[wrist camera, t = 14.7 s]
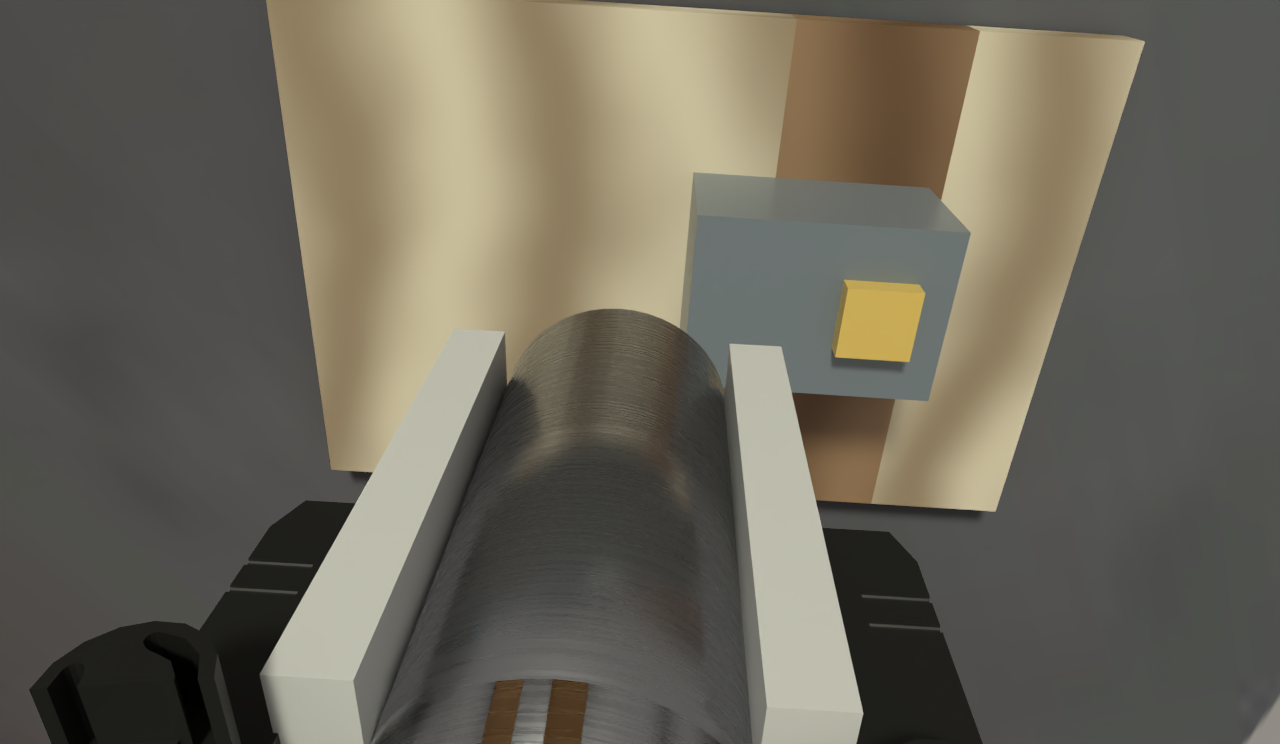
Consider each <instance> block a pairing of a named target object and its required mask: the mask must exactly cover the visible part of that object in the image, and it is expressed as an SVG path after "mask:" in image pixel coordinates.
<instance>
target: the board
mask: <svg viewBox="0 0 1280 744" xmlns="http://www.w3.org/2000/svg"><path fill="white" fill-rule="evenodd" d="M266 2H267V9H268V17H269V24H270V31H271V38H272V46H273V53H274V60H275V67H276V74H277V82H278V89H279V96H280V103H281V110H282V118H283V125H284V132H285V139H286V146H287V154H288V161H289V168H290V175H291V183H292V190H293V197H294V204H295V211H296V219H297V226H298V233H299V240H300V247H301V255H302V262H303V269H304V276H305V283H306V291H307V298H308V305H309V312H310V319H311V327H312V334H313V341H314V348H315V356H316V363H317V370H318V377H319V384H320V392H321V399H322V406H323V413H324V420H325V428H326V435H327V442H328V449H329V456H330V464H331V470H345V471H361V472H374V470H375V468H376V467H377V465H378V463H379V461H380V459H381V458H382V456H383V454H384V452H385V451H386V449H387V447H388V445H389V443H390V442H391V440H392V438H393V436H394V435H395V433H396V431H397V429H398V427H399V426H400V424H401V422H402V420H403V419H404V417H405V415H406V413H407V411H408V410H409V408H410V406H411V404H412V403H413V401H414V399H415V397H416V395H417V394H418V392H419V390H420V388H421V387H422V385H423V383H424V381H425V379H426V378H427V376H428V374H429V372H430V371H431V369H432V367H433V365H434V363H435V362H436V360H437V358H438V356H439V355H440V353H441V351H442V349H443V347H444V346H445V344H446V342H447V340H448V338H449V337H450V335H451V333H452V331H453V330H454V329H465V330H484V331H503V332H505V345H506V370H507V386H508V383H509V380H510V378H511V375H512V372H513V370H514V367H515V365H516V363H517V361H518V359H519V358H520V356H521V354H522V353H523V351H524V350H525V349H526V347H527V346H528V345H529V344H530V343H531V342H532V341H533V340H534V339H535V338H536V337H537V336H538V335H539V334H540V333H541V332H543V331H544V330H545V329H547V328H548V327H549V326H551V325H553V324H555V323H557V322H558V321H560V320H562V319H565V318H567V317H570V316H572V315H575V314H578V313H582V312H586V311H590V310H598V309H626V310H635V311H639V312H643V313H647V314H650V315H653V316H656V317H658V318H661V319H664V320H666V321H667V322H669V323H671V324H673V325H675V326H677V327H678V328H680V318H681V306H682V295H683V284H684V273H685V262H686V250H687V239H688V228H689V217H690V205H691V194H692V183H693V172H696V173H711V174H727V175H742V176H757V177H772V178H788V179H803V180H818V181H834V182H849V183H864V184H879V185H895V186H910V187H925V188H930V189H931V190H932V191H933V193H934V194H935V195H936V196H937V197H938V198H939V199H940V200H941V201H942V202H943V203H944V204H945V205H946V207H947V208H948V209H949V210H950V211H951V212H952V213H953V214H954V215H955V216H956V217H957V218H958V219H959V221H960V222H961V223H962V224H963V225H964V226H965V227H966V228H967V229H968V230H969V231H970V232H971V235H970V239H969V243H968V247H967V250H966V254H965V258H964V262H963V266H962V270H961V274H960V278H959V282H958V286H957V290H956V294H955V298H954V302H953V306H952V310H951V314H950V317H949V321H948V325H947V329H946V333H945V337H944V341H943V345H942V349H941V353H940V357H939V361H938V365H937V369H936V373H935V377H934V381H933V385H932V388H931V392H930V396H929V400H928V401H917V400H901V399H886V398H870V397H855V396H839V395H824V394H808V393H793V392H792V397H793V401H794V406H795V410H796V414H797V419H798V423H799V428H800V432H801V437H802V441H803V446H804V450H805V455H806V459H807V464H808V468H809V473H810V477H811V481H812V486H813V490H814V495H815V499H816V500H821V501H837V502H853V503H869V504H885V505H900V506H916V507H932V508H948V509H964V510H980V511H996V508H997V505H998V502H999V499H1000V496H1001V493H1002V490H1003V486H1004V483H1005V480H1006V477H1007V474H1008V471H1009V467H1010V464H1011V461H1012V458H1013V455H1014V452H1015V449H1016V445H1017V442H1018V439H1019V436H1020V433H1021V430H1022V427H1023V423H1024V420H1025V417H1026V414H1027V411H1028V408H1029V405H1030V401H1031V398H1032V395H1033V392H1034V389H1035V386H1036V383H1037V379H1038V376H1039V373H1040V370H1041V367H1042V364H1043V361H1044V357H1045V354H1046V351H1047V348H1048V345H1049V342H1050V339H1051V335H1052V332H1053V329H1054V326H1055V323H1056V320H1057V317H1058V313H1059V310H1060V307H1061V304H1062V301H1063V298H1064V295H1065V291H1066V288H1067V285H1068V282H1069V279H1070V276H1071V273H1072V269H1073V266H1074V263H1075V260H1076V257H1077V254H1078V251H1079V247H1080V244H1081V241H1082V238H1083V235H1084V232H1085V229H1086V225H1087V222H1088V219H1089V216H1090V213H1091V210H1092V206H1093V203H1094V200H1095V197H1096V194H1097V191H1098V188H1099V184H1100V181H1101V178H1102V175H1103V172H1104V169H1105V166H1106V162H1107V159H1108V156H1109V153H1110V150H1111V147H1112V144H1113V140H1114V137H1115V134H1116V131H1117V128H1118V125H1119V122H1120V118H1121V115H1122V112H1123V109H1124V106H1125V103H1126V100H1127V96H1128V93H1129V90H1130V87H1131V84H1132V81H1133V78H1134V74H1135V71H1136V68H1137V65H1138V62H1139V59H1140V56H1141V52H1142V49H1143V46H1144V43H1145V41H1141V40H1138V39H1134V38H1131V37H1127V36H1121V35H1105V34H1090V33H1074V32H1059V31H1043V30H1028V29H1012V28H997V27H982V26H966V25H951V24H935V23H920V22H904V21H889V20H873V19H858V18H843V17H827V16H812V15H796V14H781V13H765V12H750V11H734V10H719V9H704V8H688V7H673V6H657V5H642V4H626V3H611V2H595V1H580V0H266ZM723 390H724V395H725V388H723Z"/></svg>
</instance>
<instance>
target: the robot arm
mask: <svg viewBox="0 0 1280 744" xmlns="http://www.w3.org/2000/svg"><path fill="white" fill-rule="evenodd" d="M506 388H507V370H506V345H505V332H503V331H484V330H465V329H454V330H453V331H452V333H451V335H450V337H449V338H448V340H447V342H446V344H445V346H444V347H443V349H442V351H441V353H440V355H439V356H438V358H437V360H436V362H435V363H434V365H433V367H432V369H431V371H430V372H429V374H428V376H427V378H426V379H425V381H424V383H423V385H422V387H421V388H420V390H419V392H418V394H417V395H416V397H415V399H414V401H413V403H412V404H411V406H410V408H409V410H408V411H407V413H406V415H405V417H404V419H403V420H402V422H401V424H400V426H399V427H398V429H397V431H396V433H395V435H394V436H393V438H392V440H391V442H390V443H389V445H388V447H387V449H386V451H385V452H384V454H383V456H382V458H381V459H380V461H379V463H378V465H377V467H376V468H375V470H374V472H373V474H372V475H371V477H370V479H369V481H368V483H367V484H366V486H365V488H364V490H363V491H362V493H361V495H360V497H359V499H358V500H357V502H356V504H355V503H338V502H321V501H305V502H303V503H302V504H300V505H299V506H298V507H296V508H295V509H294V510H292V511H291V512H290V513H288V514H287V515H285V516H284V517H283V518H281V519H280V520H279V521H277V522H276V523H275V524H273V525H272V526H270V528H269V529H268V531H267V532H266V534H265V535H264V536H263V538H262V539H261V541H260V542H259V544H258V545H257V547H256V548H255V550H254V551H253V553H252V554H251V556H250V557H249V561H248V565H244V566H243V567H242V569H241V570H240V572H239V573H238V575H237V576H236V578H235V579H234V580H233V582H232V583H231V585H230V587H231V588H230V591H229V592H225V594H224V595H223V597H222V598H221V600H220V601H219V602H218V604H217V605H216V607H215V608H214V610H213V611H212V613H211V614H210V616H209V617H208V619H207V620H206V622H205V623H204V625H203V626H202V627H201V629H200V630H197V629H195V628H193V627H191V626H189V625H187V624H183V623H172V622H160V621H153V622H147V623H142V624H136V625H131V626H125V627H120V628H117V629H115V630H113V631H110V632H108V633H105V634H103V635H100V636H98V637H95V638H93V639H91V640H88V641H86V642H84V643H82V644H81V645H79V646H78V647H76V648H75V649H73V650H72V651H70V652H69V653H67V654H66V655H64V656H63V657H61V658H60V659H59V660H57V661H56V662H54V663H53V664H52V665H51V666H50V667H49V668H48V669H47V670H46V671H45V673H44V674H43V675H42V676H41V677H40V678H39V679H38V680H37V682H36V683H35V684H34V685H33V686H32V687H31V688H30V689H29V690H30V693H31V695H32V697H33V700H34V702H35V705H36V707H37V709H38V712H39V714H40V717H41V719H42V722H43V724H44V726H45V729H46V731H47V734H48V736H49V738H50V741H51V743H52V744H371V741H372V739H373V736H374V733H375V731H376V728H377V725H378V723H379V720H380V718H381V715H382V712H383V710H384V707H385V705H386V702H387V699H388V697H389V694H390V691H391V689H392V686H393V684H394V681H395V678H396V676H397V673H398V671H399V668H400V665H401V663H402V660H403V657H404V655H405V652H406V650H407V647H408V644H409V642H410V639H411V637H412V634H413V631H414V629H415V626H416V623H417V621H418V618H419V616H420V613H421V610H422V608H423V605H424V603H425V600H426V597H427V595H428V592H429V589H430V587H431V584H432V582H433V579H434V576H435V574H436V571H437V569H438V566H439V563H440V561H441V558H442V555H443V553H444V550H445V548H446V545H447V542H448V540H449V537H450V535H451V532H452V529H453V527H454V524H455V521H456V519H457V516H458V514H459V511H460V508H461V506H462V503H463V501H464V498H465V495H466V493H467V490H468V487H469V485H470V482H471V480H472V477H473V474H474V472H475V469H476V467H477V464H478V461H479V459H480V456H481V453H482V451H483V448H484V446H485V443H486V440H487V438H488V435H489V433H490V430H491V427H492V425H493V422H494V419H495V417H496V414H497V412H498V409H499V406H500V404H501V401H502V399H503V396H504V393H505V391H506ZM724 404H725V416H726V428H727V440H728V453H729V465H730V477H731V489H732V501H733V513H734V525H735V538H736V550H737V562H738V574H739V586H740V598H741V610H742V623H743V635H744V647H745V659H746V671H747V683H748V695H749V708H750V720H751V732H752V744H983V743H982V741H981V738H980V735H979V732H978V730H977V727H976V724H975V721H974V718H973V716H972V713H971V710H970V707H969V705H968V702H967V699H966V696H965V693H964V691H963V688H962V685H961V682H960V680H959V677H958V674H957V671H956V668H955V666H954V663H953V660H952V657H951V655H950V652H949V649H948V646H947V643H946V641H945V638H944V635H943V633H940V624H939V621H938V618H937V616H936V613H935V610H934V607H933V605H932V603H930V602H929V597H930V596H929V593H928V591H927V588H926V585H925V582H924V580H923V577H922V574H921V571H920V568H919V566H918V563H917V561H916V560H915V559H914V558H913V557H912V556H911V555H910V554H909V553H908V552H907V551H906V550H905V549H904V548H903V546H902V545H901V544H900V543H899V542H898V541H897V540H896V539H895V538H894V537H893V536H892V535H891V534H890V533H889V532H881V531H864V530H847V529H830V528H822V526H821V522H820V517H819V513H818V508H817V504H816V499H815V495H814V490H813V486H812V481H811V477H810V473H809V468H808V464H807V459H806V455H805V450H804V446H803V441H802V437H801V432H800V428H799V423H798V419H797V414H796V410H795V406H794V401H793V397H792V392H791V388H790V383H789V379H788V374H787V370H786V365H785V361H784V356H783V352H782V347H781V346H763V345H745V344H729V353H728V364H727V374H726V385H725V395H724Z"/></svg>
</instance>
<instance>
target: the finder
mask: <svg viewBox="0 0 1280 744" xmlns="http://www.w3.org/2000/svg"><path fill="white" fill-rule="evenodd" d="M970 235H971V232H970V231H969V230H968V229H967V228H966V227H965V226H964V225H963V224H962V223H961V222H960V221H959V219H958V218H957V217H956V216H955V215H954V214H953V213H952V212H951V211H950V210H949V209H948V208H947V207H946V205H945V204H944V203H943V202H942V201H941V200H940V199H939V198H938V197H937V196H936V195H935V194H934V193H933V191H932V190H931V189H930V188H925V187H910V186H895V185H879V184H864V183H849V182H834V181H818V180H803V179H788V178H772V177H757V176H742V175H727V174H711V173H696V172H693V183H692V194H691V205H690V217H689V228H688V239H687V250H686V262H685V273H684V284H683V295H682V306H681V318H680V329H681V330H683V331H684V332H685V333H687V334H688V335H689V336H690V337H692V338H693V339H694V340H695V341H696V342H697V343H698V344H699V345H700V346H701V347H702V348H703V350H704V351H705V352H706V353H707V354H708V356H709V358H710V359H711V361H712V362H713V364H714V365H715V367H716V370H717V372H718V374H719V376H720V379H721V383H722V386H723V388H725V385H726V374H727V364H728V353H729V344H745V345H763V346H781V347H782V352H783V356H784V361H785V365H786V370H787V374H788V379H789V383H790V388H791V392H793V393H808V394H824V395H839V396H855V397H870V398H886V399H901V400H917V401H928V400H929V396H930V392H931V388H932V385H933V381H934V377H935V373H936V369H937V365H938V361H939V357H940V353H941V349H942V345H943V341H944V337H945V333H946V329H947V325H948V321H949V317H950V314H951V310H952V306H953V302H954V298H955V294H956V290H957V286H958V282H959V278H960V274H961V270H962V266H963V262H964V258H965V254H966V250H967V247H968V243H969V239H970Z"/></svg>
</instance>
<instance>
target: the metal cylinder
mask: <svg viewBox="0 0 1280 744" xmlns="http://www.w3.org/2000/svg"><path fill="white" fill-rule="evenodd" d="M371 744H752V732H751V720H750V708H749V695H748V683H747V671H746V659H745V647H744V635H743V623H742V610H741V598H740V586H739V574H738V562H737V550H736V538H735V525H734V513H733V501H732V489H731V477H730V465H729V453H728V440H727V428H726V416H725V404H724V390H723V386H722V383H721V379H720V376H719V374H718V372H717V370H716V367H715V365H714V364H713V362H712V361H711V359H710V358H709V356H708V354H707V353H706V352H705V351H704V350H703V348H702V347H701V346H700V345H699V344H698V343H697V342H696V341H695V340H694V339H693V338H692V337H690V336H689V335H688V334H687V333H685V332H684V331H683V330H681V329H680V328H678V327H677V326H675V325H673V324H671V323H669V322H667V321H666V320H664V319H661V318H658V317H656V316H653V315H650V314H647V313H643V312H639V311H635V310H626V309H598V310H590V311H586V312H582V313H578V314H575V315H572V316H570V317H567V318H565V319H562V320H560V321H558V322H557V323H555V324H553V325H551V326H549V327H548V328H547V329H545V330H544V331H543V332H541V333H540V334H539V335H538V336H537V337H536V338H535V339H534V340H533V341H532V342H531V343H530V344H529V345H528V346H527V347H526V349H525V350H524V351H523V353H522V354H521V356H520V358H519V359H518V361H517V363H516V365H515V367H514V370H513V372H512V375H511V378H510V380H509V383H508V386H507V388H506V391H505V393H504V396H503V399H502V401H501V404H500V406H499V409H498V412H497V414H496V417H495V419H494V422H493V425H492V427H491V430H490V433H489V435H488V438H487V440H486V443H485V446H484V448H483V451H482V453H481V456H480V459H479V461H478V464H477V467H476V469H475V472H474V474H473V477H472V480H471V482H470V485H469V487H468V490H467V493H466V495H465V498H464V501H463V503H462V506H461V508H460V511H459V514H458V516H457V519H456V521H455V524H454V527H453V529H452V532H451V535H450V537H449V540H448V542H447V545H446V548H445V550H444V553H443V555H442V558H441V561H440V563H439V566H438V569H437V571H436V574H435V576H434V579H433V582H432V584H431V587H430V589H429V592H428V595H427V597H426V600H425V603H424V605H423V608H422V610H421V613H420V616H419V618H418V621H417V623H416V626H415V629H414V631H413V634H412V637H411V639H410V642H409V644H408V647H407V650H406V652H405V655H404V657H403V660H402V663H401V665H400V668H399V671H398V673H397V676H396V678H395V681H394V684H393V686H392V689H391V691H390V694H389V697H388V699H387V702H386V705H385V707H384V710H383V712H382V715H381V718H380V720H379V723H378V725H377V728H376V731H375V733H374V736H373V739H372V741H371Z"/></svg>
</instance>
